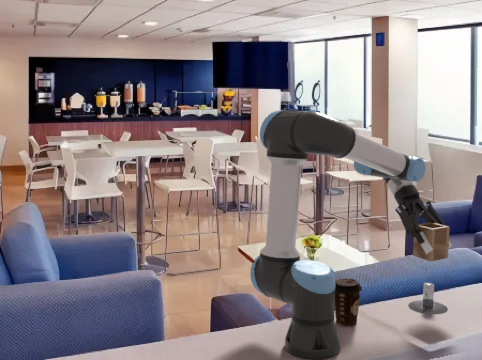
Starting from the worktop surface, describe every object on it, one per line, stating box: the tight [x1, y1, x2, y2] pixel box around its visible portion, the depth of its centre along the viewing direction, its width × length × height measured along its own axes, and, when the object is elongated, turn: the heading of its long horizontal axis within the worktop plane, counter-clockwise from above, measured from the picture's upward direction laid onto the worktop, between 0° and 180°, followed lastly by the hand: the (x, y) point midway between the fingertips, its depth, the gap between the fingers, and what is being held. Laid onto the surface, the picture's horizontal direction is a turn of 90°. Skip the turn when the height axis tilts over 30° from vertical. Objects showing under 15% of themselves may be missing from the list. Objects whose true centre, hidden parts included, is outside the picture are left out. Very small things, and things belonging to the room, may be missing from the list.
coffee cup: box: [334, 278, 363, 327], centre depth 181 cm, size 9×8×13 cm
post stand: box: [407, 282, 449, 315], centre depth 189 cm, size 12×12×9 cm
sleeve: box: [412, 222, 451, 262], centre depth 187 cm, size 7×7×10 cm
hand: (439, 249), depth 184 cm, fingers closed on sleeve, 7 cm apart
